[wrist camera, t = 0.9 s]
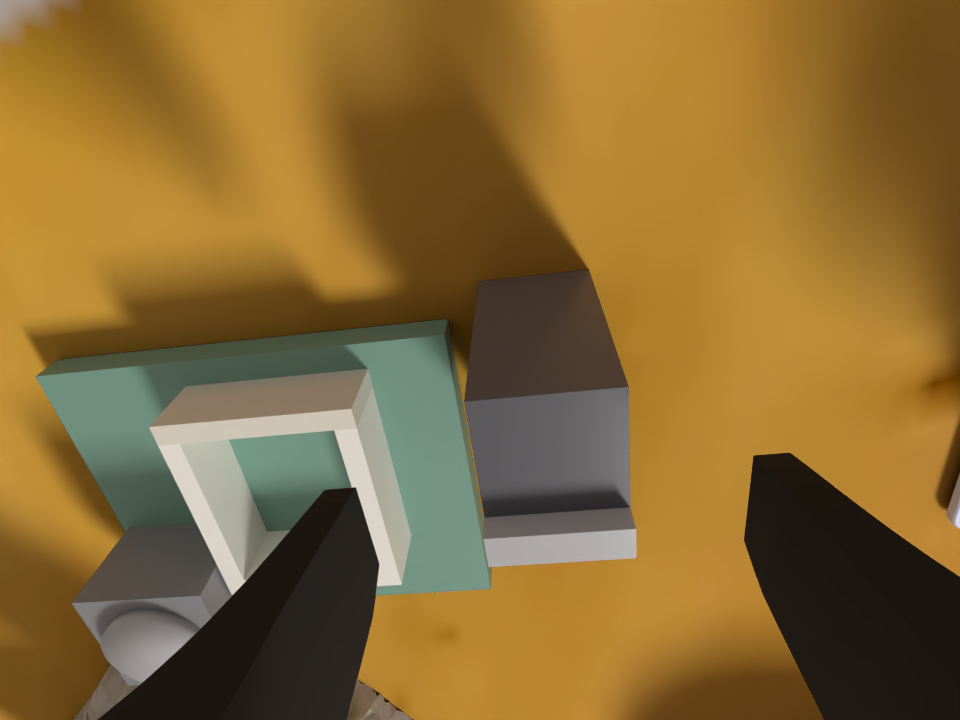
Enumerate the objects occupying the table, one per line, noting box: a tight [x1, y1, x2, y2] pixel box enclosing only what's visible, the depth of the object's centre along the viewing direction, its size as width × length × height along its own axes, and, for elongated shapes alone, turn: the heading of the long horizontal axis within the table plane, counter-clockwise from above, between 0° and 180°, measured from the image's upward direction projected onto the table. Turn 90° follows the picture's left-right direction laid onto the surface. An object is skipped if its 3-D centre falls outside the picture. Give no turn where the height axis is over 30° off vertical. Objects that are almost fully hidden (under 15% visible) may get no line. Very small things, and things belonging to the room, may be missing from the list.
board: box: [35, 319, 491, 686], centre depth 18 cm, size 12×10×4 cm
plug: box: [464, 269, 636, 567], centre depth 14 cm, size 3×4×7 cm
